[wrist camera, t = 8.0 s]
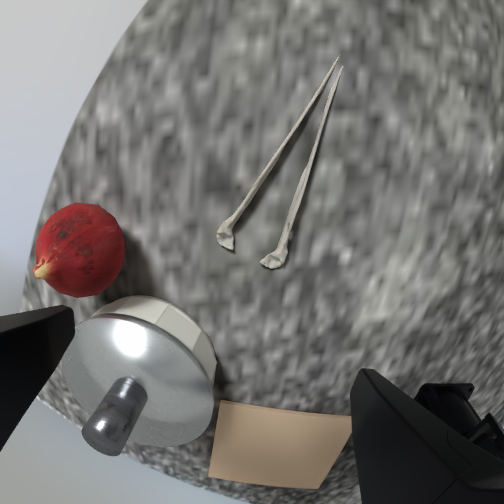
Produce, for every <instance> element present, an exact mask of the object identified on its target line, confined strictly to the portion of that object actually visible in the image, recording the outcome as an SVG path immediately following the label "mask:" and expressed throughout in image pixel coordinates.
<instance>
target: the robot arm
mask: <svg viewBox="0 0 504 504" xmlns="http://www.w3.org/2000/svg"><path fill="white" fill-rule="evenodd" d="M74 336H75V321H74V312H73V310H72V308H70V307H67V306H64V305H59V306H53V307H48V308H43V309H38V310H32V311H27V312H22V313H16V314H11V315H5V316H0V451H1V450H2V448H3V446H4V445H5V443H6V442H7V440H8V439H9V437H10V435H11V434H12V432H13V431H14V429H15V428H16V426H17V425H18V423H19V421H20V420H21V418H22V416H23V415H24V414H25V412H26V411H27V409H28V408H29V406H30V405H31V403H32V402H33V401H34V399H35V398H36V396H37V395H38V393H39V392H40V391H41V389H42V388H43V386H44V385H45V383H46V382H47V381H48V379H49V378H50V376H51V375H52V374H53V372H54V371H55V369H56V367H57V366H58V364H59V362H60V360H61V359H62V357H63V355H64V354H65V352H66V350H67V348H68V347H69V345H70V343H71V342H72V340H73V338H74ZM474 388H475V387H474V385H473V384H472V383H463V384H432V383H427V384H424V385H423V386H422V387H421V388H420V390H419V392H418V394H417V396H416V398H415V400H413V399H412V398H411V397H410V396H408V395H407V394H406V393H404V392H403V391H402V390H400V389H399V388H398V387H396V386H395V385H394V384H392V383H391V382H390V381H388V380H387V379H386V378H385V377H383V376H382V375H381V374H379V373H378V372H377V371H375V370H374V369H367V368H362V369H360V370H359V372H358V374H357V377H356V379H355V381H354V384H353V386H352V388H351V392H350V405H351V425H352V439H353V446H354V452H355V458H356V464H357V471H358V478H359V485H360V492H361V499H362V504H504V429H503V427H502V426H501V425H500V424H499V423H498V422H497V420H496V419H495V418H494V417H493V416H492V414H491V413H490V412H489V413H488V414H487V415H486V416H485V418H484V419H483V420H482V421H481V419H480V418H479V416H478V415H477V413H476V412H475V410H474V409H473V407H472V406H471V404H470V403H469V401H468V399H469V397H470V396H471V394H472V392H473V390H474ZM425 389H426V390H425Z"/></svg>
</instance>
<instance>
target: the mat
mask: <svg viewBox="0 0 504 504" xmlns="http://www.w3.org/2000/svg"><path fill="white" fill-rule="evenodd" d="M351 433H352V425H351V416H343V415H329V414H317V413H307V412H298V411H289V410H282V409H274V408H267V407H261V406H254V405H248V404H242V403H237V402H231V401H226V400H221V401H220V407H219V413H218V419H217V425H216V431H215V437H214V443H213V450H212V456H211V462H210V468H209V474H208V476H209V477H214V478H219V479H225V480H231V481H237V482H243V483H251V484H258V485H267V486H277V487H289V488H305V489H318V488H319V487H320V485H321V483H322V482H323V480H324V479H325V477H326V476H327V474H328V472H329V471H330V469H331V468H332V466H333V464H334V463H335V461H336V459H337V458H338V456H339V454H340V452H341V451H342V449H343V447H344V445H345V444H346V442H347V440H348V438H349V436H350V435H351Z"/></svg>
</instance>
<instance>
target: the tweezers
mask: <svg viewBox="0 0 504 504" xmlns="http://www.w3.org/2000/svg"><path fill="white" fill-rule="evenodd" d="M339 56H340V55H339ZM338 59H339V57H338V58H337V59H336V61H335V62H334V64H333V66H332V67H331V69H330V71H329V72H328V74H327V76H326V77H325V79H324V80H323V82H322V84H321V85H320V87H319V89H318V90H317V92H316V93H315V95H314V96H313V98H312V100H311V101H310V103H309V104H308V106H307V107H306V109H305V110H304V112H303V113H302V115H301V117H300V118H299V120H298V121H297V123H296V124H295V126H294V127H293V129H292V130H291V132H290V133H289V135H288V136H287V138H286V139H285V141H284V142H283V143H282V145H281V146H280V148H279V149H278V150H277V152H276V153H275V155H274V156H273V158H272V159H271V160H270V162H269V164H268V165H267V167H266V168H265V170H264V171H263V173H262V174H261V175H260V177H259V178H258V180H257V181H256V183H255V184H254V185H253V187H252V189H251V190H250V192H249V194H248V195H247V197H246V198H245V200H244V201H243V202H242V204H241V205H240V207H239V208H238V209H237V210H236V211H235V213H234V214H233V215H232V216H231V217H230V218H228V219H227V220H226V221H224V222H223V223H222V224H221V226H220V227H219V230H218V231H217V233H218V234H217V241H218V242H219V244H220V245H222V246H224V247H226V248H228V249H230V250H233V249H234V247H233V241H234V237H233V234H232V229H233V226H234V225H235V223H236V221H237V220H238V219H239V217H240V216H241V214H242V213H243V212H244V210H245V209H246V207H247V206H248V204H249V203H250V202H251V200H252V199H253V197H254V195H255V194H256V192H257V191H258V189H259V187H260V186H261V185H262V183H263V182H264V180H265V179H266V177H267V176H268V174H269V173H270V171H271V170H272V168H273V167H274V165H275V164H276V162H277V160H278V158H279V156H280V154H281V152H282V150H283V148H284V147H285V145H286V143H287V142H288V140H289V139H290V137H291V136H292V135H293V133H294V132H295V130H296V129H297V128H298V126H299V124H300V123H301V121H302V120H303V118H304V117H305V115H306V113H307V112H308V110H309V109H310V107H311V106H312V104H313V103H314V101H315V99H316V98H317V96H318V95H319V94H320V93H321V92H322V90H323V87H324V86H325V84H326V82H327V80H328V78H329V77H330V75H331V73H332V71H333V69H334V67H335V65H336V64H337V61H338ZM342 68H343V66H342ZM342 68H341V70H340V72H339V74H338V76H337V78H336V80H335V82H334V84H333V86H332V88H331V90H330V93H329V97H328V100H327V104H326V106H325V109H324V113H323V117H322V121H321V124H320V126H319V130H318V133H317V137H316V141H315V144H314V147H313V150H312V153H311V156H310V159H309V162H308V165H307V167H306V168H305V170H304V172H303V174H302V176H301V179H300V182H299V185H298V188H297V190H296V193H295V196H294V199H293V202H292V205H291V207H290V210H289V213H288V217H287V221H286V223H285V226H284V229H283V232H282V235H281V238H280V241H279V244H278V247H277V249H276V250H275V251H274V252H273V253H270V254H268V255H267V256H266V257H265V258H264V259H262V260H261V261H260V263H261V264H263V265H265V266H266V267H269V268H270V269H273V268H277V267H280V266H281V264H284V261H285V259H286V256H287V254H288V250H287V244H288V239H289V235H290V232H291V228H292V225H293V222H294V219H295V216H296V213H297V211H298V209H299V206H300V203H301V200H302V197H303V194H304V190H305V187H306V184H307V180H308V177H309V173H310V170H311V167H312V163H313V160H314V156H315V153H316V150H317V146H318V143H319V139H320V136H321V133H322V129H323V126H324V123H325V120H326V117H327V114H328V110H329V107H330V104H331V101H332V98H333V95H334V92H335V90H336V87H337V84H338V81H339V78H340V75H341V72H342ZM289 225H290V226H289ZM288 229H289V230H288Z"/></svg>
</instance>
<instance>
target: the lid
mask: <svg viewBox="0 0 504 504" xmlns="http://www.w3.org/2000/svg"><path fill="white" fill-rule="evenodd" d="M62 368H63V372H64V376H65V379H66V381H67V384H68V386H69V388H70V390H71V392H72V393H73V395H74V397H75V398H76V400H77V401H78V402H79V403H80V405H81V406H82V407H83V408H84V409H85V411H86V412H87V413H88V414H89V415H90V416H91V417H90V418H89V420H88V421H87V423H86V424H85V426H84V427H83V429H82V435H83V437H84V439H85V441H86V442H87V443H88V444H89V445H90V446H91V447H93V448H94V449H95V450H97V451H99V452H101V453H103V454H105V455H109V456H118V455H120V454H121V452H122V450H123V448H124V446H125V444H126V442H127V440H130V441H133V442H136V443H140V444H143V445H148V446H155V447H173V446H179V445H183V444H186V443H188V442H191V441H193V440H194V439H196V438H198V437H199V436H200V435H201V434H202V433H203V432H204V431H205V430H206V428H207V427H208V425H209V423H210V420H211V416H212V413H213V409H214V391H213V387H212V383H211V381H210V378H209V376H208V374H207V372H206V370H205V369H204V367H203V365H202V364H201V362H200V361H199V360H198V359H197V357H196V356H195V355H194V354H193V353H192V352H191V351H190V350H189V349H188V347H187V346H186V345H184V344H183V343H182V342H181V341H180V340H178V339H177V338H176V337H175V336H173V335H172V334H170V333H169V332H167V331H166V330H164V329H162V328H161V327H159V326H157V325H155V324H153V323H151V322H148V321H146V320H144V319H141V318H138V317H135V316H131V315H126V314H118V313H104V314H99V315H94V316H92V317H89V318H87V319H85V320H84V321H82V322H81V323H80V324H79V325H77V326H76V327H75V336H74V338H73V340H72V342H71V343H70V345H69V347H68V348H67V350H66V352H65V354H64V355H63V357H62Z"/></svg>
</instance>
